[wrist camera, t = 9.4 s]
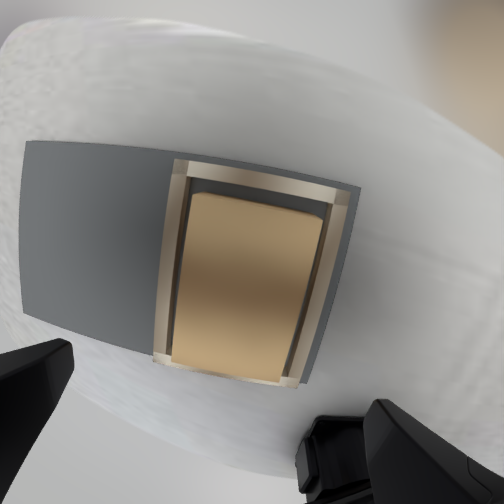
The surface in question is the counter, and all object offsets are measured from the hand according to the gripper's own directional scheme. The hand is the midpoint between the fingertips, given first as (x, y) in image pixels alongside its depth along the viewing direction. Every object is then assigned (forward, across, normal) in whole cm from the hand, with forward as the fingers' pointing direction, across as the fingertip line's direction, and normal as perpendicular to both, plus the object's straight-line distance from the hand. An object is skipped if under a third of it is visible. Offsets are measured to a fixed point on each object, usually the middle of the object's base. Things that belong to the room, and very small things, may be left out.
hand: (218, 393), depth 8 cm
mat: (+11, +5, 0) cm, 12 cm away
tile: (+10, 0, 0) cm, 10 cm away
